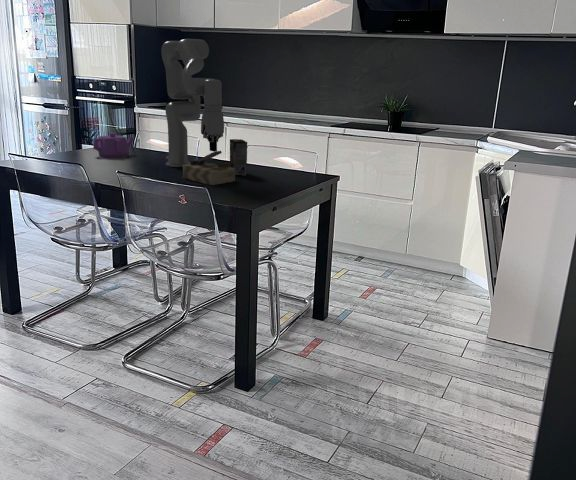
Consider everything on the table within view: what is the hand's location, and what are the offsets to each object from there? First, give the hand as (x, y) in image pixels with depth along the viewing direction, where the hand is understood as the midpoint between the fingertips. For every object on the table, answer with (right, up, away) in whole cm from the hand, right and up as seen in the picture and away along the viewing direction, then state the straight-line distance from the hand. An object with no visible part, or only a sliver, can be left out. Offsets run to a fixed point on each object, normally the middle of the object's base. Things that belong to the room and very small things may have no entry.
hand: (213, 150), depth 249 cm
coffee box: (+9, -8, +22) cm, 25 cm away
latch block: (-3, -12, +6) cm, 14 cm away
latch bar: (-3, -3, +4) cm, 6 cm away
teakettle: (-62, +6, +58) cm, 85 cm away
